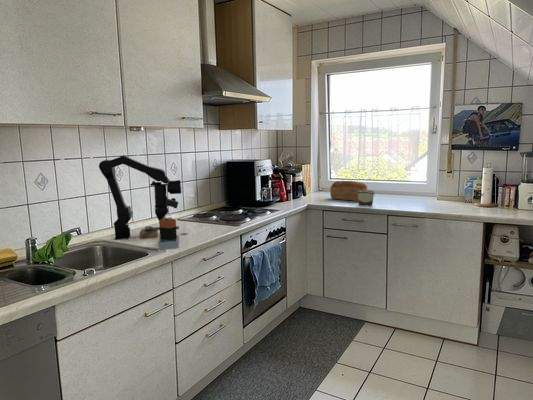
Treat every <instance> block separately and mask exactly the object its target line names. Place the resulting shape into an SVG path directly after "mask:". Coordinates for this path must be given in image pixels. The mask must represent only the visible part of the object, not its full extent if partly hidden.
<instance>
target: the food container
mask: <svg viewBox="0 0 533 400" xmlns="http://www.w3.org/2000/svg"><path fill="white" fill-rule="evenodd" d="M357 194H358V201H357V202H358V206H363V205H368V206H367V207H372V206H373V204H374V203H373V202H374V196H375V191H374V190H369V189H367V190H360V191H358V192H357Z"/></svg>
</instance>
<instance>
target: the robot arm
mask: <svg viewBox="0 0 533 400" xmlns="http://www.w3.org/2000/svg"><path fill="white" fill-rule="evenodd" d="M120 165H125V166H127V167H129V168H131V169H134V170H136V171H139V172H141V173H143V174H146V175H147V176H148V177H150V178H151V179H153V180H152V182H151V183H150V185H149V186H150V187H153V188H154V214H155V216H156V217H157V220H158V221H159V220H160V219H163V217H166V215H167V214H169V208H168V207H171V208H173V209H178V206H179V201H178V200H176V198H175V197H172V198H168V196H167V193H169V194H170V195H179V194H182V184H181V180H180V179H177V180H170V178H168V176H167V173H166V171H165V170H164V169H161V168H157V167H154V166H150V165H147V164H144V163H142V162H139V161H138V160H136V159H133V158H130V157H128V156H127V155H120V156H118V157H116V158H114V159H113V158H112V159H106V160H105V159H104V160H102V161H101V160H100V162H99V164H98V168H99V171H100V172H101V174H102V175H103V177H104V178H105V180H106V181H107V184H108V187H109V189H110V192H111V195H112V198H113V201H114V203H115V206H116V216H117V219H116V220H115V221H114V222H113V226H114V240H122V239H123V240H125V239H129V238H130V236H131V227H129V222H130V220H131V219H132V218H133V214H134V213H133V211H132V209H131V207H132V206H131V205H129V206H128V205H127V204H126V202H125V200H124V196H123V194H122V191H121V189H120V188H121V187H120V185H119V183H118V179H117V178H116V168H115V167H118V166H120Z"/></svg>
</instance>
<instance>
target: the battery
mask: <svg viewBox="0 0 533 400" xmlns="http://www.w3.org/2000/svg"><path fill="white" fill-rule="evenodd" d="M158 225H159V226H158V227H160V230H159V238H160V239H164V240H173V239H176V238H177V235H178V234H177V233H178V232H177V229H176V226H177V220H176V219H175V218H173V217H170V216H169V217H167V216H165V217H163V219H160V220H158Z"/></svg>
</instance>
